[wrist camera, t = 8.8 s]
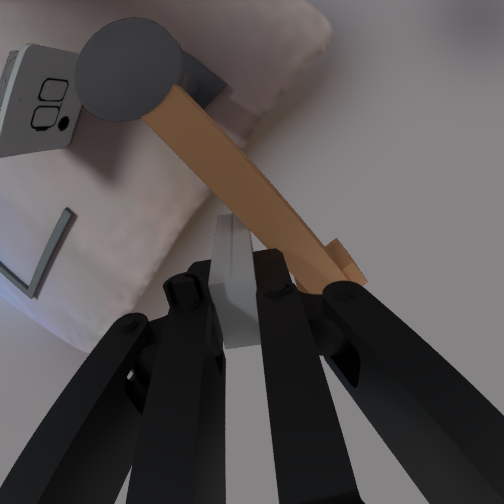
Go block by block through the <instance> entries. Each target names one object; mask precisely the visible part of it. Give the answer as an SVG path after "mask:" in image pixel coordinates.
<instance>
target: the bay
mask: <svg viewBox="0 0 504 504" xmlns="http://www.w3.org/2000/svg"><path fill="white" fill-rule="evenodd" d="M72 215H73V212H72V211H71V210H70V209H68V208H65V209H64V211H63V213H62V215H61V217H60V218H59V220H58V222H57V224H56V226H55V228H54V230H53V233H52V235H51V237H50V239H49V241H48V243H47V245H46V247H45V250H44V252H43V254H42V256H41V259H40V261H39V263H38V266H37V268H36V270H35V273H34V275H33V278H32V280H31V283H30V285H29V287H28V286H27V285H26V284H25V283H24V282H22V281H21V280H20V279H19V278H18V277H17V276H16V275H14V274H13V273H12V272H11V271H10V270H9V269H8V268H7V267H6V266H5V265H3V264H2V263H1V262H0V272H1V273H2V274H3V275H4V276H5V277H6V278H7V279H8V280H10V281H11V282H12V283H13V284H14V285H15V286H16V287H17V288H19V289H20V290H21V291H22V292H23V293H24V294H26V295H27V296H28V297H29V298H30V299H32V298H33V297H34V294H35V292H36V289H37V287H38V284H39V282H40V280H41V277H42V275H43V273H44V271H45V268H46V266H47V264H48V262H49V260H50V258H51V256H52V253H53V251H54V249H55V247H56V245H57V243H58V241H59V239H60V237H61V235H62V233H63V231H64V230H65V228H66V226H67V224H68V222H69V220H70V218H71V216H72Z"/></svg>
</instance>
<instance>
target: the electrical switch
mask: <svg viewBox="0 0 504 504" xmlns="http://www.w3.org/2000/svg"><path fill="white" fill-rule="evenodd" d="M79 55H80V54H79V53H74V52H70V51H65V50H60V49H55V48H49V47H44V46H40V45H37V44H31V43H29V44H26V45H23V46H21V49H20V51H15V52H14V51H10V53H9V56H8V59H7V62H6V64H5V67H4V70H3V73H2V77H1V80H0V107H1V109H0V158H3V157H8V156H14V155H20V154H26V153H32V152H39V151H46V150H54V149H62V148H65V147H67V146H68V145H69V143H70V141H71V138H72V134H73V131H74V128H75V125H76V122H77V118H78V115H79V113H80V110H81V107H82V103H81V102H80V100H79V98H78V95H77V93H76V89H75V82H74V75H75V67H76V63H77V60H78V58H79ZM12 59H13V60H12ZM6 81H7V82H6Z"/></svg>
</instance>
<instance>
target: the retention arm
mask: <svg viewBox="0 0 504 504" xmlns="http://www.w3.org/2000/svg"><path fill="white" fill-rule="evenodd" d="M184 76H185V57H184V54H183V51H182V49H181V47H180V45H179V44H178V42H177V41H176V40H175V39H174V38H173V37H172V36H171V35H170V33H169V32H168V31H167V30H166V29H165V28H163V27H162V26H161V25H160V24H158V23H156V22H154V21H151V20H149V19H144V18H135V17H134V18H125V19H121V20H118V21H115V22H112V23H110V24H108V25H106V26H105V27H103V28H102V29H100V30H99V31H98V32H96V33H95V34H94V35H93V36H92V37H91V38H90V39H89V41H88V42H87V43H86V45H85V46H84V48H83V49H82V51H81V53H80V55H79V58H78V60H77V63H76V67H75V75H74V82H75V89H76V93H77V95H78V98H79V100H80V102H81V103H82V105H83V106H84V107H85V108H86V110H88V111H89V112H90V113H91V114H92V115H94V116H96V117H98V118H100V119H102V120H106V121H111V122H123V121H130V120H136V119H142V120H143V121H144V122H145V123H146V124H147V125H148V126H149V127H150V128H151V129H152V130H153V131H154V132H155V133H156V134H157V135H158V136H159V137H160V138H161V139H162V140H163V141H164V142H165V143H166V144H167V145H168V146H169V147H170V148H171V149H172V150H173V151H174V152H175V153H176V154H177V155H178V156H179V157H180V158H181V159H182V160H183V161H184V162H185V163H186V164H187V165H188V167H189V168H190V169H191V170H192V171H193V172H194V173H195V174H196V175H197V176H198V177H199V178H200V179H201V180H202V181H203V182H204V183H205V184H206V185H207V186H208V187H209V188H210V189H211V190H212V191H213V192H214V193H215V194H216V195H217V196H218V197H219V198H220V199H221V200H222V201H223V203H224V204H225V205H226V206H227V207H228V208H229V209H230V210H231V211H232V212H233V213H234V214H235V215H236V216H237V217H238V218H239V219H240V220H241V221H242V222H243V223H244V224H245V225H246V226H247V228H248V229H249V230H250V231H251V232H252V233H253V234H254V235H255V236H256V237H257V238H258V239H259V240H260V241H261V242H262V243H263V244H264V245H265V246H266V247H267V248H268V249H274V248H277V249H278V250H279V251H281V252H282V253H283V255H284V258H285V261H286V265H287V268H288V271H289V272H290V273H291V274H292V275H293V276H294V278H295V281H296V285H297V288H298V290H299V291H301V292H304V293H308V294H322V291H323V289H324V288H325V287H326V285H328V284H330V283H332V282H336V281H342V280H343V281H344V280H346V281H352V282H356V283H358V284H360V285H361V286H362V285H364V284H365V283H367V280H366V279H365V277H364V275H363V274H362V272H361V271H360V270H359V268H358V267H357V265H356V264H355V262H354V261H353V259H352V258H351V256H350V255H349V254H348V252H347V251H346V250H345V248H344V247H343V246H342V244H341V243H340V242H339V240H338V239H337V238H336V239H334V240H333V241H332V242H331V243H329V244H328V245H327V246H325V247H324V245H323V244H322V243H321V242H320V240H319V239H318V238H317V237H316V236H315V234H314V233H313V232H312V231H311V229H310V228H309V227H308V226H307V225H306V223H305V222H304V221H303V220H302V219H301V218H300V216H299V215H298V214H297V213H296V212H295V210H294V209H293V208H292V207H291V206H290V205H289V203H288V202H287V201H286V200H285V199H284V198H283V197H282V195H281V194H280V193H279V192H278V191H277V189H276V188H275V187H274V186H273V185H272V184H271V183H270V181H269V180H268V179H267V178H266V177H265V176H264V175H263V174H262V173H261V171H260V170H259V169H258V168H257V167H256V166H255V165H254V164H253V163H252V162H251V160H250V159H249V158H248V157H247V156H246V155H245V154H244V152H243V151H242V150H241V149H240V148H239V147H238V146H237V145H236V144H235V143H234V142H233V141H232V139H231V138H230V137H229V136H228V135H227V134H226V133H225V132H224V131H223V130H222V129H221V128H220V127H219V126H218V125H217V123H216V122H215V121H214V120H213V119H212V118H211V117H210V116H209V115H208V114H207V113H206V112H205V111H204V110H203V109H202V108H201V107H200V106H199V105H198V104H197V103H196V102H195V101H194V100H193V99H192V98H191V97H190V96H189V95H188V94H187V93H186V92H185V91H184V90H183V89H182V88H181V85H182V83H183V80H184Z"/></svg>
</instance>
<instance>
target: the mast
mask: <svg viewBox="0 0 504 504" xmlns="http://www.w3.org/2000/svg"><path fill="white" fill-rule="evenodd" d="M183 54H184V57H185V76H184V80H183V83H182V85H181V88H182V89H183V90H184V91H185V92H186V93H187V94H188V95H189V96H190V97H191V98H192V99H193V100H194V101H195V102H196V103H197V104H198V105H199V106H200V107H201V108H202V109H203V110H204V109H205V108H206V107H207V105H208V104H209V103H210V102H211V101H212V100H213V99H214V98H215V97H216V96H217V95H218V94H219V93H220V91H221V90H222V89H223V88H224V87H225V86H226V85H227V84H225V83H224V82H223V81H222V80H221V79H219V78H218V77H217V76H216V75H214V74H213V73H212V72H211V71H209V70H208V69H207V68H206V67H204V66H203V65H202V64H201V63H199V62H198V61H197V60H195V59H194V58H193V57H191V56H190V55H189V54H187V53H186V52H185V51H183Z"/></svg>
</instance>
